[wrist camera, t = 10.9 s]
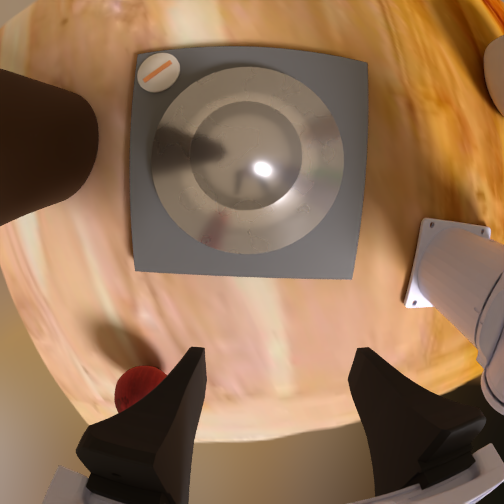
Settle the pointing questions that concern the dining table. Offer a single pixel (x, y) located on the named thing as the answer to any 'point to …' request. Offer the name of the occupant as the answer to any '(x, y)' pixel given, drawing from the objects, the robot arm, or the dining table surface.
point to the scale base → (263, 264)
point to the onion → (136, 385)
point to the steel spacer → (246, 155)
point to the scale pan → (259, 220)
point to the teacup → (495, 72)
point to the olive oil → (42, 144)
